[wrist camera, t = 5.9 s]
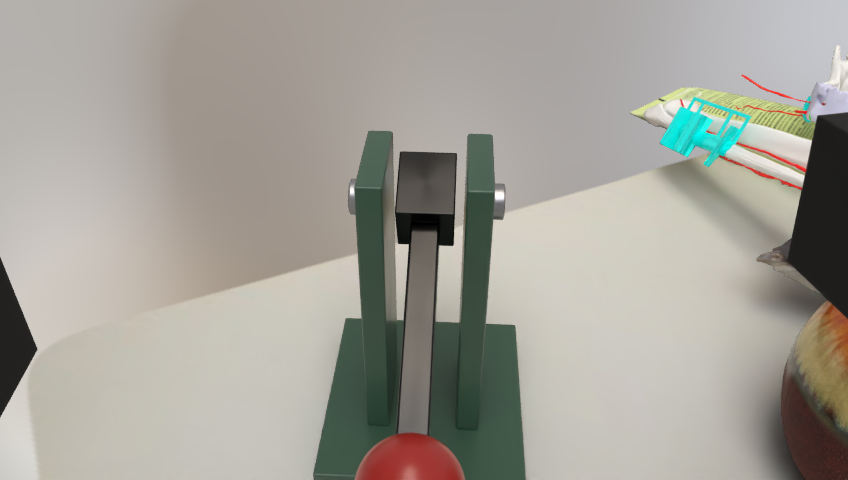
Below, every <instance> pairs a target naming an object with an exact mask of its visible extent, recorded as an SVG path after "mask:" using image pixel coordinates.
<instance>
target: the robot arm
mask: <svg viewBox="0 0 848 480" xmlns="http://www.w3.org/2000/svg"><path fill="white" fill-rule="evenodd" d="M787 262H788V263H790V264H791V265H792V266H793V267H794V268H795V269H796V270H797V271H798V272H799V273H800V274H801V275H802V276H803V277H804V278H805V279H806V280H807V281H808V282H809V283H810V284H812V285H813V286H814V287H815V288H816V289H817V290H818V291H819V292H820V293H821V294H822V295H823V296H824V297H825V298H826V299H827V300H828V301H829V302H830V303H831V304H832V305H834V306H835V307H836V308H837V309H838V310H839V311H840V312H841V313H842V314H843V315H844V316H845V317H846V318H847V319H848V112H845V113H835V114H826V115H817V119H816V124H815V129H814V134H813V139H812V143H811V148H810V153H809V158H808V163H807V167H806V172H805V177H804V182H803V186H802V191H801V196H800V201H799V206H798V210H797V215H796V220H795V225H794V230H793V234H792V239H791V244H790V249H789V254H788V258H787ZM36 351H37V347H36V344H35V342H34V340H33V337H32V335H31V332H30V330H29V327H28V325H27V322H26V320H25V318H24V315H23V312H22V310H21V307H20V305H19V302H18V300H17V298H16V296H15V293H14V290H13V288H12V285H11V283H10V280H9V278H8V275H7V273H6V270H5V268H4V265H3V263H2V260H1V258H0V417H1V415H2V413H3V411H4V409H5V407H6V406H7V404H8V402H9V400H10V399H11V397H12V395H13V393H14V391H15V389H16V388H17V386H18V384H19V382H20V380H21V378H22V377H23V375H24V373H25V371H26V369H27V368H28V366H29V364H30V362H31V360H32V358H33V357H34V355H35V352H36Z"/></svg>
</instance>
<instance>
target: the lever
mask: <svg viewBox="0 0 848 480" xmlns="http://www.w3.org/2000/svg"><path fill="white" fill-rule="evenodd" d="M456 163H457V154H456V153H432V152H431V153H430V152H400V158H399V170H398V182H397V194H396V206H395V217H396V227H397V237H398V244H409V252H408V267H407V281H406V295H405V309H404V324H403V338H402V352H401V366H400V381H399V395H398V409H397V423H396V435H392V436H390V437H387V438H385V439H383V440H382V441H380V442H379V443H377V444H376V445H375V446H374V447H373V448H372V449H371V450H370V451H369V452H368V453H367V454H366V455H365V457H364V458H363V460H362V462H361V463H360V465H359V468H358V470H357V472H356V476H355V480H465V476H464V473H463V470H462V467H461V465H460V463H459V461H458V460H457V458H456V456H455V455H454V454H453V453H452V451H451V450H450V449H449V448H448V447H447V446H445V445H444V444H443V443H441V442H440V441H439V440H437V439H435V438H433V437H431V436H430V429H431V408H432V387H433V366H434V344H435V323H436V302H437V281H438V260H439V245H442V246H453V245H454V219H455V192H456V165H457V164H456Z"/></svg>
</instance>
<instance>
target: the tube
mask: <svg viewBox="0 0 848 480" xmlns="http://www.w3.org/2000/svg"><path fill="white" fill-rule="evenodd" d="M693 97H697V98H700V99H703V100H706V101H709V102H712V103H715V104H718V105H721V106H724V107H726V108H729V109H732V110H735V111H738V112H741V113H744V114H747V115H750V116H751V119H750V120H749V122H748V123H752V124H758V125H762V126H766V127H769V128H773V129H776V130H780V131H783V132H786V133H789V134H792V135H795V136H798V137H801V138H805V139H808V140H812V139H813V134H814V129H815V124H816V122H813V121H811V122H810V123H808V122H806V121H805V120H804V119H803V117H802V116H794V115H789V114H785V113H781V112H767V111H783V112H787V113H792V114H799V115H803V113H801V114H800V113H796V112H794V111H795V110H799V111H803V108H799V107H794V106H790V105H785V104H780V103H775V102H771V101H766V100H760V99H756V98H751V97H746V96H740V95H736V94H730V93H725V92H720V91H714V90H708V89H701V88H685V87H682V88H680V89H678V90H676V91H674V92H672V93H670V94H668V95H666V96H664V97H662V98H660V99H658V100H656V101H654V102H652V103H649V104H647V105H645V106H643V107H641V108H639V109H637V110H635V111H632V112H630V114H632V115H634V116H636V117H639V118H641V119H643V120H645V119H644V118H643V115H644V112H645V111H646V110H647V109H648V108H650V107H654V106H656V105H657V104H659V103H662V104H663V106H664V105H665V103H667V102H668V101H671V100H675V99H681V100H688V101H692V99H693ZM695 103H696V104H698V105H699V106H700V105H701V103H700V102H697V101H695ZM746 105H750V106H752V107H757V108H761V109H763V110H766V111H763V110H760V109H753V108H751V107H748V106H746ZM736 106H737V107H738V108H740V109H737V108H736ZM744 106H746V107H744ZM743 107H744V108H743ZM741 108H742V109H741ZM702 111H704V112H706V113H708V114H710V115H713V116H716V117H720V118H724V119H726V118H727V117H728V115H729V112H726V111H723V110H720V109H717V108H715V107H712V106H709V105H706V104H705V105H704V107H703V108H702ZM745 119H746V118H743V117H740V116H738V115H735V114H733V115H732V117H731V119H730V120H736V121H742V122H744V121H745ZM646 121H647V120H646ZM660 127H662V126H660ZM663 128H664V127H663ZM736 146H739V147H741V148H743V149H745V150H747V151H750V152H752V153H755V154H757V155H759V156H762V157H764V158H766V159H768V160H771V161H773V162H775V163H778V164H780V165H782V166H785V167H788V168H790V169H792V170H794V171H796V172H798V173H800V174H803V175H805V174H804V173H803V172H801V171H799V170H797V169H795V168H793V167H791V166H789V165H786V164H784V163H782V162H779V161H777V160H775V159H773V158H770V157H768V156H766V155H763V154H760V153H758V152H755V151H753V150H750V149H748V148H745V147H743V146H740V145H737V144H736Z"/></svg>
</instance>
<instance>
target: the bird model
mask: <svg viewBox="0 0 848 480" xmlns="http://www.w3.org/2000/svg"><path fill="white" fill-rule="evenodd" d="M791 239H792V238H791ZM791 239H790V240H788V241H787V242H786V243H784V244H783V245H782V246H780V247H777V248H774V249H773V251H772V252H768V253H765V254H762V255H760V256H759V257H758V258H757V260H756V261H759V262H763V263H767V264H769V265H771V266H772V267H773V269H774V270H777V271H781V272H782V273H783V274H784V275H785V276H787V277H789V278H791V279H792V280H795V281H797V282H799V283H801V284H802V285H804V286H806V287H808V288H809V289H812V290H813V291H815V292H818V293H820V292H819V291H818V290H817V289H816V288H815V287H814V286H813V285H812V284H810V283H809V282H808V281H807V280H806V279H805V278H804V277H803V276H802V275H801V274H800V273H799V272H798V271H797V270H796V269H795V268H794V267H793V266H792V265H791V264H790V263H788V262H787V258H788V254H789V249H790V244H791ZM820 294H821V293H820Z"/></svg>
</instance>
